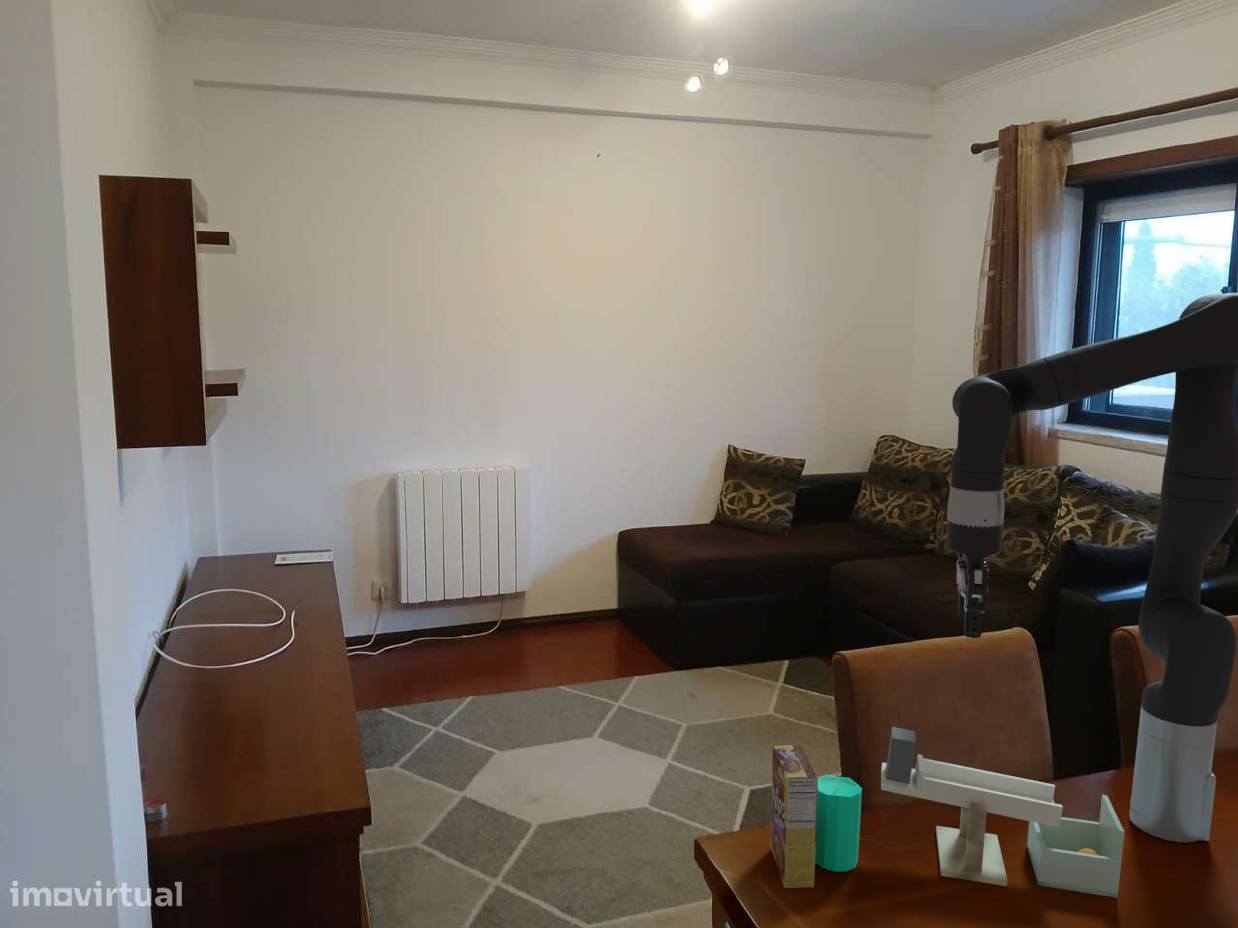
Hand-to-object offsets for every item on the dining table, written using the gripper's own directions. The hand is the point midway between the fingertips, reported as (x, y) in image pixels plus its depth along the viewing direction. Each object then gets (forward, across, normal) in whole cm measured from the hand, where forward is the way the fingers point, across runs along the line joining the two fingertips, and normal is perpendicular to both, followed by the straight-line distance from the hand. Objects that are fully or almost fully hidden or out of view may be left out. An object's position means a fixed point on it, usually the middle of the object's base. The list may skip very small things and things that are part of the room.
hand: (969, 627), depth 135 cm
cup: (+27, -15, -12) cm, 34 cm away
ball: (+25, -15, -14) cm, 33 cm away
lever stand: (+27, -15, 0) cm, 31 cm away
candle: (+27, -20, +18) cm, 38 cm away
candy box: (+27, -24, +23) cm, 43 cm away
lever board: (+19, -15, +1) cm, 25 cm away
